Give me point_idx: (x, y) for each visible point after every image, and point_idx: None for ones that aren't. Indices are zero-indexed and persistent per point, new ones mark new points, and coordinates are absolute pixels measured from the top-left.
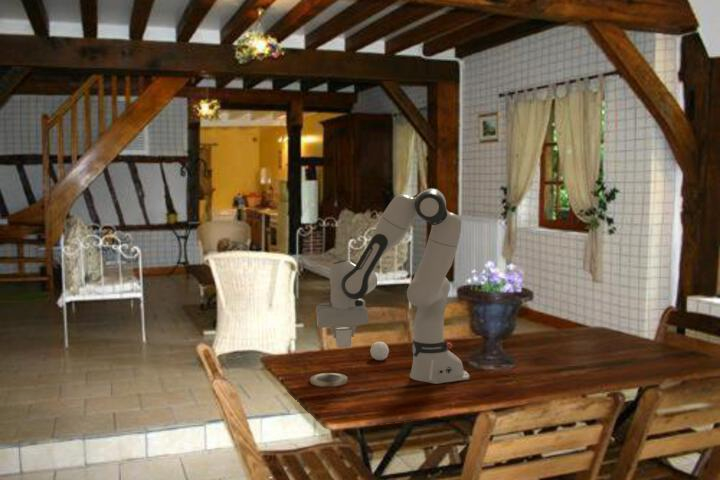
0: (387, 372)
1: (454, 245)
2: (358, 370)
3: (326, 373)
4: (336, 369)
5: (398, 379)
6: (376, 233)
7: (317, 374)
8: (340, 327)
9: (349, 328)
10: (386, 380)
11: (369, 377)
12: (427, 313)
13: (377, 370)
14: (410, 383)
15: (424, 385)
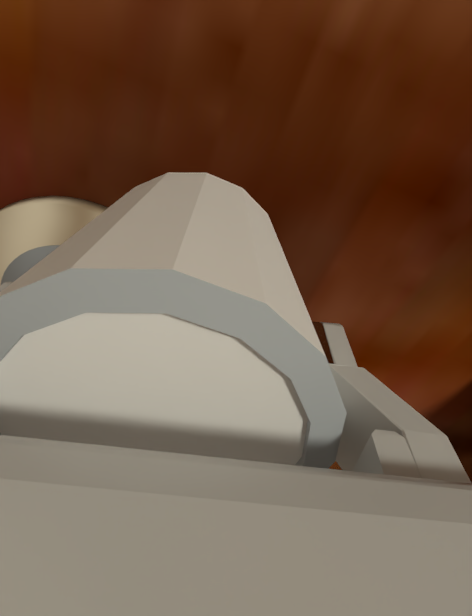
0: (469, 251)
1: None
2: (332, 137)
3: (68, 213)
4: (180, 32)
5: (426, 369)
6: None
7: (2, 216)
8: (116, 306)
9: (280, 460)
10: (367, 366)
11: (318, 302)
12: None
13: (448, 187)
14: (429, 421)
15: (456, 450)
